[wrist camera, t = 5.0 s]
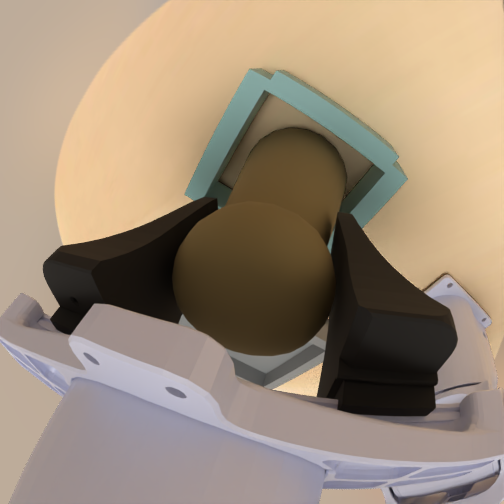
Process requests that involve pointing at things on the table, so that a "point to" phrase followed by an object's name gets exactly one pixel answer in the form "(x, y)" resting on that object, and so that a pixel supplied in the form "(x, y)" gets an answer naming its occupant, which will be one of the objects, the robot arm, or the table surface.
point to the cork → (266, 249)
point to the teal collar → (319, 109)
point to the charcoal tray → (277, 361)
